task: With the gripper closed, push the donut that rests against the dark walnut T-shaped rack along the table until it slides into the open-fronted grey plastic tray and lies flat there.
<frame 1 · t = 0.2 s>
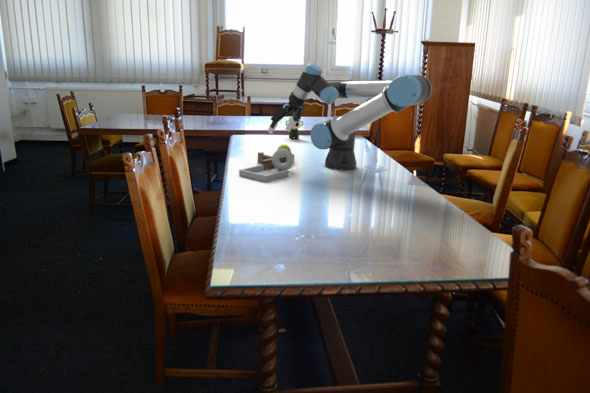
hand: (278, 131, 230), 15 cm above the table, tool tilted 30°, fingers open, 13 cm apart
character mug: (293, 138, 301), on the table
tray: (263, 175, 206), on the table
tennis ball: (283, 158, 242), on the table
donut: (282, 170, 216), on the table
t rack: (278, 165, 225), on the table
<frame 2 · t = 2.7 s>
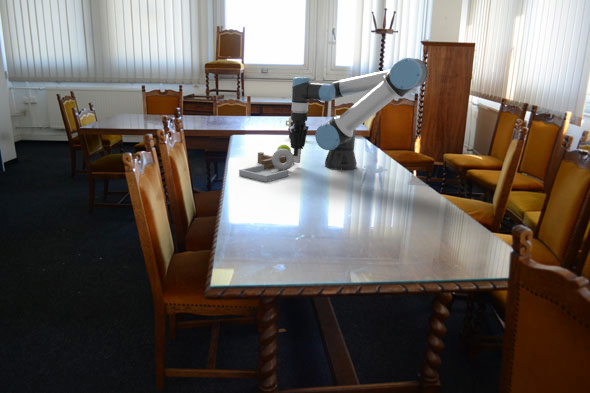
hand: (296, 162, 224), 2 cm above the table, tool pointing down, fingers closed
nothing on the table moved.
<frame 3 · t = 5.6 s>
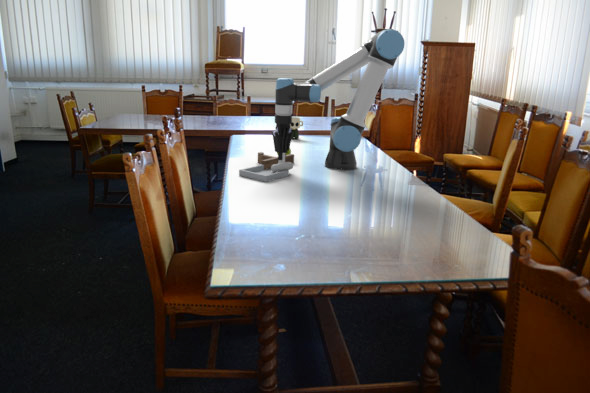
hand: (281, 166, 216), 2 cm above the table, tool pointing down, fingers closed
donut: (280, 167, 214), point 2 cm above the table, touching gripper, tray
everything else where it was.
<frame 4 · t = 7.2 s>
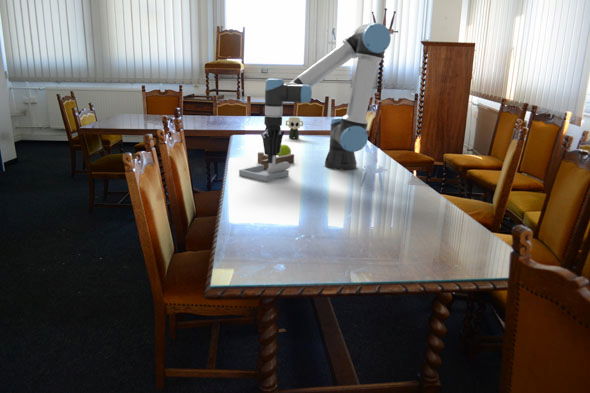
hand: (271, 169, 210), 1 cm above the table, tool pointing down, fingers closed
donut: (275, 169, 209), point 2 cm above the table, touching gripper
everything else where it was.
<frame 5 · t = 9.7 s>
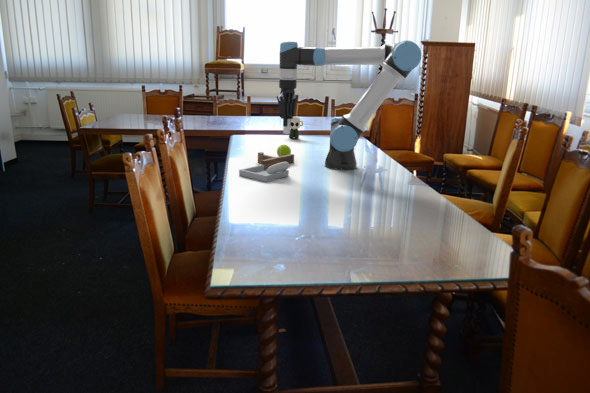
hand: (286, 133, 213), 17 cm above the table, tool pointing down, fingers closed
donut: (275, 169, 209), point 2 cm above the table, touching tray
everything else where it was.
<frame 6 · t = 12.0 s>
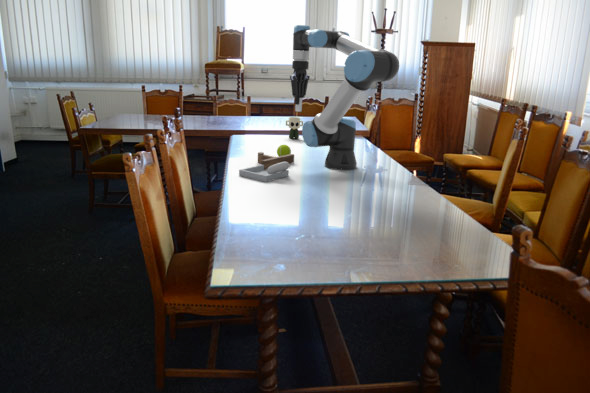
hand: (298, 111, 230), 24 cm above the table, tool pointing down, fingers closed
nothing on the table moved.
at the end: donut inside the target area on the tray (5.6 cm from its centre), point 1.9 cm above the tray's base; donut moved 8.4 cm from its start; the gripper is holding nothing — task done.
